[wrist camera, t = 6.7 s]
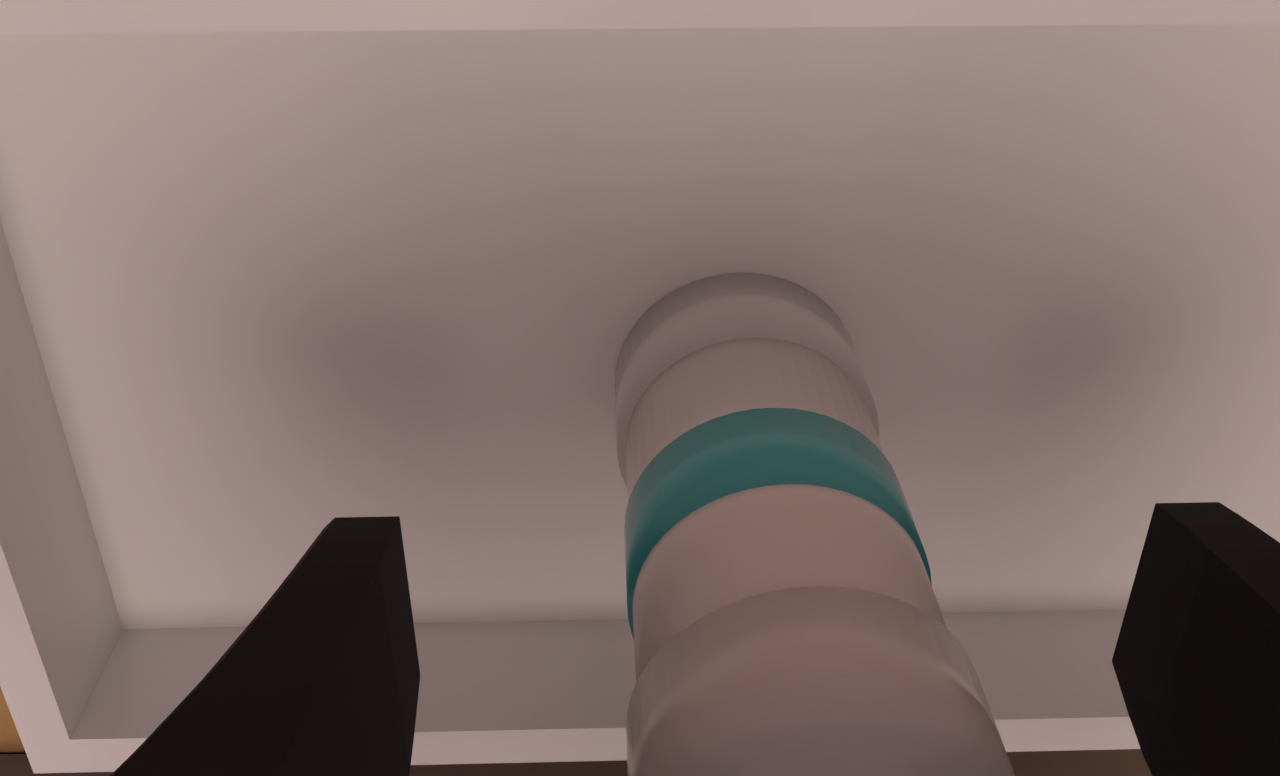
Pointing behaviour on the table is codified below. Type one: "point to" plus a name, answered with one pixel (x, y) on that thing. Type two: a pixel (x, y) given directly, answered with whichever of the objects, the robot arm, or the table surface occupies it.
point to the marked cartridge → (777, 555)
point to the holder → (1034, 771)
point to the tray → (605, 320)
